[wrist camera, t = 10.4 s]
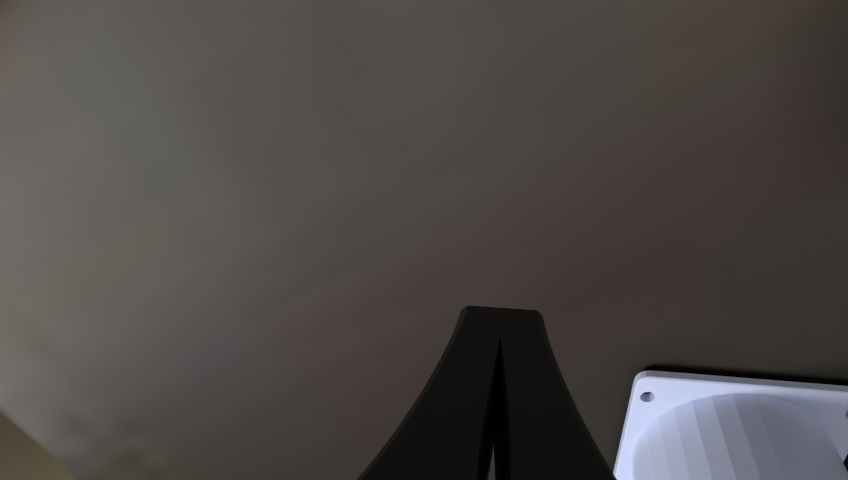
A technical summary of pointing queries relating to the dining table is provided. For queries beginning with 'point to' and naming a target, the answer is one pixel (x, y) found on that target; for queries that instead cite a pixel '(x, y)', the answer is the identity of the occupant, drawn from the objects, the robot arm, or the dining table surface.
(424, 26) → the dining table surface
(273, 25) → the dining table surface
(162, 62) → the dining table surface
